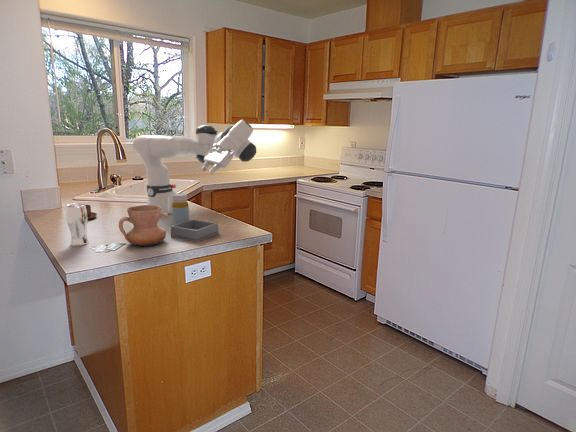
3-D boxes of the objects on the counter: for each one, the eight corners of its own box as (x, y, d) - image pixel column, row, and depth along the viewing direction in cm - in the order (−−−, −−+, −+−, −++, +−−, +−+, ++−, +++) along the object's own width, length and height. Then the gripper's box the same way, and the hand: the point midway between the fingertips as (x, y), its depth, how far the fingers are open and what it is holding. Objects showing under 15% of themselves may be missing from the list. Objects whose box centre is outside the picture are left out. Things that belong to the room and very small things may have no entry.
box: (193, 229, 170) (193, 219, 169) (218, 233, 164) (217, 223, 163) (171, 236, 158) (170, 226, 157) (196, 241, 152) (196, 230, 151)
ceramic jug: (164, 235, 160) (162, 202, 156) (173, 245, 148) (171, 209, 144) (118, 241, 151) (114, 206, 148) (123, 252, 139) (119, 214, 135)
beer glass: (66, 244, 147) (61, 205, 143) (84, 239, 152) (79, 202, 149) (75, 247, 143) (71, 208, 139) (93, 242, 148) (89, 205, 145)
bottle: (183, 224, 177) (181, 192, 173) (192, 227, 172) (191, 194, 169) (170, 227, 171) (168, 194, 168) (179, 230, 167) (177, 196, 163)
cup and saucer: (66, 218, 185) (64, 205, 184) (93, 214, 192) (92, 202, 191) (72, 223, 176) (70, 210, 175) (100, 219, 184) (98, 207, 182)
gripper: (240, 155, 168) (220, 179, 165) (222, 152, 185) (203, 173, 182) (230, 145, 165) (209, 169, 162) (213, 143, 181) (193, 164, 179)
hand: (206, 171), depth 172 cm, fingers open, 8 cm apart
